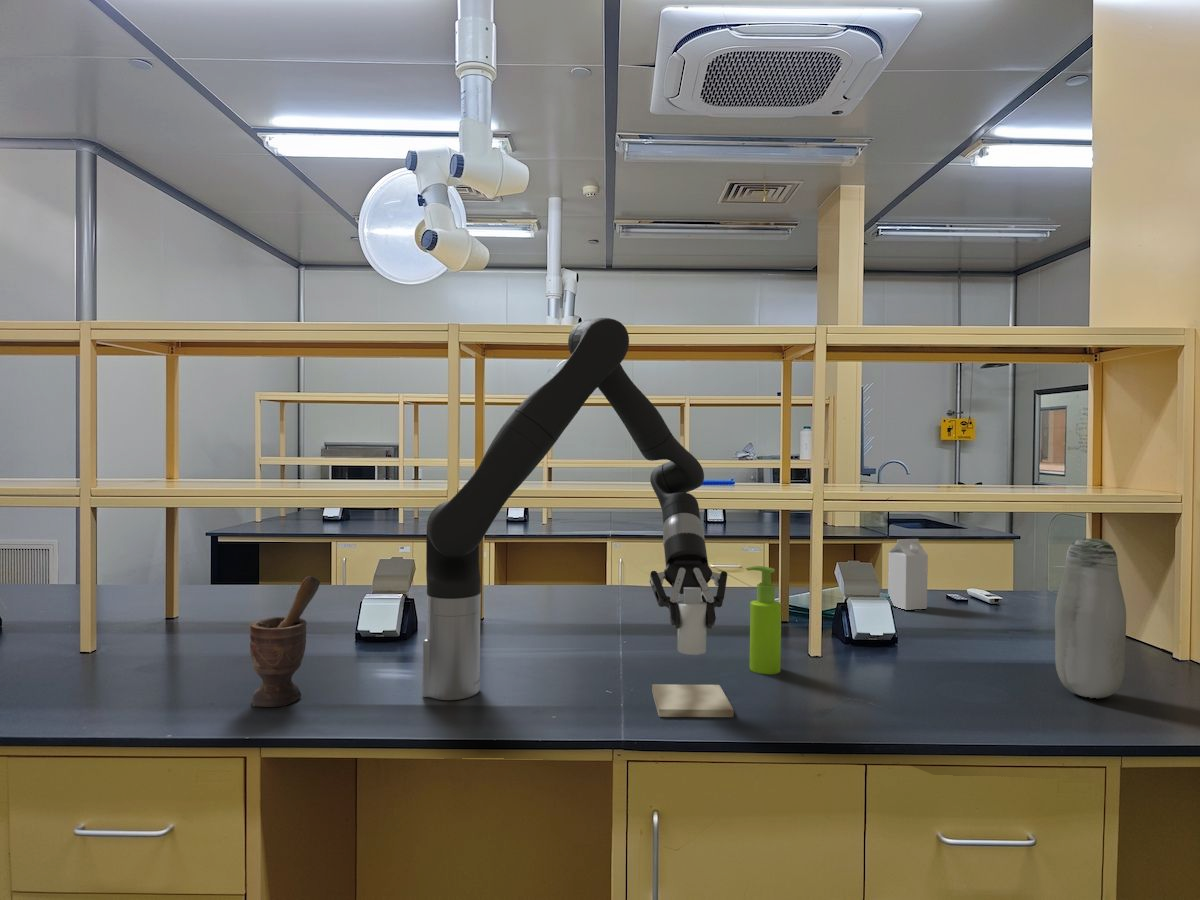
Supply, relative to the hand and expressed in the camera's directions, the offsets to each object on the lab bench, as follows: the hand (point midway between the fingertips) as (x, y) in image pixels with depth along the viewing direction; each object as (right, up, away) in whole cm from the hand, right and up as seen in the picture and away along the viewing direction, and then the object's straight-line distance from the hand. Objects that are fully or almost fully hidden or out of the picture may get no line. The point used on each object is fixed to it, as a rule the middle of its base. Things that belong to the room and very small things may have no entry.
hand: (693, 625), depth 118 cm
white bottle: (0, -5, +2) cm, 5 cm away
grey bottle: (+72, -15, +9) cm, 74 cm away
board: (0, -14, +2) cm, 14 cm away
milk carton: (+69, -15, +77) cm, 105 cm away
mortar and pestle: (-69, -13, +2) cm, 71 cm away
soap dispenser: (+16, -14, +21) cm, 30 cm away
